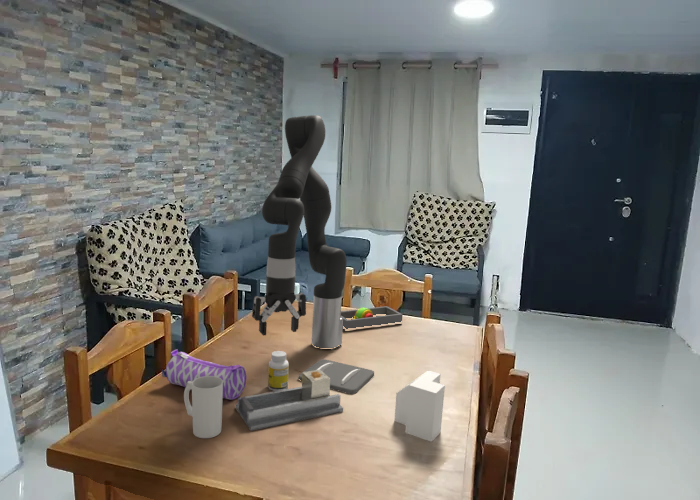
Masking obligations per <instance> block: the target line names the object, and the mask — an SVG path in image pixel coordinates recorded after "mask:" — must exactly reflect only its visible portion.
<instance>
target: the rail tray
mask: <svg viewBox="0 0 700 500" xmlns="http://www.w3.org/2000/svg"><path fill="white" fill-rule="evenodd" d="M301 373H302V381H301V386H297V387H292V388H291V387H290V388H287V389H285V390H280V391H270V392H264V393H259V394H254V395H246V396H241V397H240V396H239V397H237V403H235V410H236V412H237V413H238V414H239V416H240V417H241V419H242V420H243V422H244V423H245V424H246V426H247V428H248V430H249V431H250V432H252V431H257V430H263V429H266V428H271V427H276V426H280V425H281V426H282V425H286V424H291V423H296V422H301V421H305V420H310V419H315V418H319V417H324V416H328V415H332V414H333V415H334V414H339V413H342V412H344V407H343V406H342V405H341V395H340V394H339V393H336V394H331V395H330V391H331V389H330V378H329V377H328V376H327V375H326V374H324V373H323V372H322V371H321V370H314V371H308V372H304V371H302V372H301Z"/></svg>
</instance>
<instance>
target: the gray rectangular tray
mask: <svg viewBox="0 0 700 500" xmlns="http://www.w3.org/2000/svg"><path fill="white" fill-rule="evenodd" d="M366 308H367V307H366ZM358 309H359V308H358ZM358 309H349V310H341V318H342V319H343V326H344V327H345V328H346V329H348V328H356V327H364V326H372V325H381V324H388V323H395V322H401V321H402V322H403V313H401V312H398V311H397V310H396V309H394V308H391V307H390V306H387V305H386V306H377V307H368V308H367V309H370V310H371V311H372V313H373V315H376V314H386V315H385V316H376V317H368V318H359V319H351V320H347V319H346V318H352V317H353V316H355V313H356V312H357V310H358Z"/></svg>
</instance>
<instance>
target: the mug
mask: <svg viewBox="0 0 700 500" xmlns="http://www.w3.org/2000/svg"><path fill="white" fill-rule="evenodd" d="M191 389H192V390H191ZM190 391H191V402H190V399H189V398H190V397H189V396H190ZM223 399H224V398H223V380H222V379H221V378H219V377H215V376H203V377H199V378H196V379H195V380H193V381H192V382H191V381H188V382H187V386H186V387H184V392H183V400H184V405H185V409H186V413H187V416H191V417H192V433H193V435H194V436H195V437H196V438H200V439H211V438H214V437H217V436H219V434H221V432H222V424H223V423H222V420H223Z"/></svg>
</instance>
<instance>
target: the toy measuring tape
mask: <svg viewBox="0 0 700 500" xmlns="http://www.w3.org/2000/svg"><path fill="white" fill-rule="evenodd" d="M356 310H357V309H356ZM368 317H373V313H372V311H371V310H370V309H367V307H360V308H358V310H357V312H356V313H355V316H353V319H359V318H368Z"/></svg>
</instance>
